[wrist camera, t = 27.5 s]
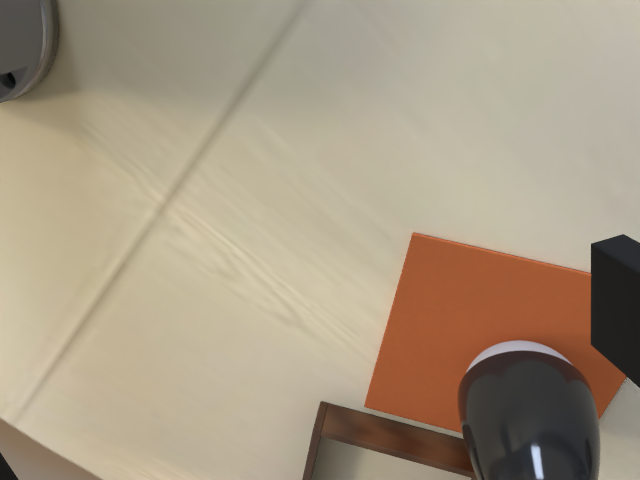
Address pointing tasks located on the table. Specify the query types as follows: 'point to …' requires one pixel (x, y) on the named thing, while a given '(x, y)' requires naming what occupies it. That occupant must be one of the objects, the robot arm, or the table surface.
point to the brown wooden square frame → (388, 440)
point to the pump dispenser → (528, 415)
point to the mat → (477, 326)
